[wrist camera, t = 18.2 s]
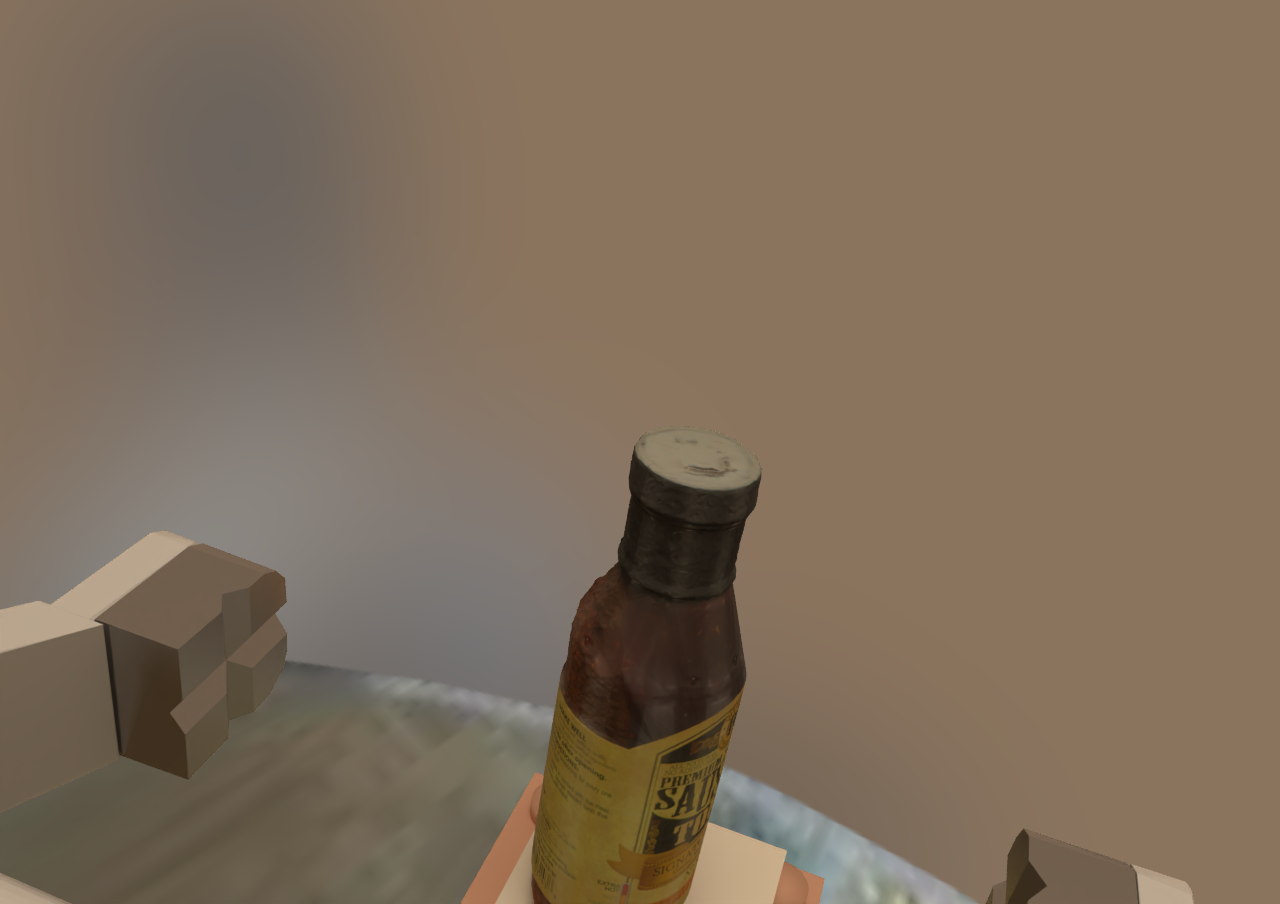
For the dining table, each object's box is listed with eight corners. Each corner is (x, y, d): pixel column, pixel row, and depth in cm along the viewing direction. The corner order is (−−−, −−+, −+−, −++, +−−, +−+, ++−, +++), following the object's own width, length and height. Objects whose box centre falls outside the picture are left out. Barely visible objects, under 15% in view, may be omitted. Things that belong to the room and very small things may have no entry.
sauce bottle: (644, 997, 39) (755, 549, 30) (495, 918, 41) (552, 471, 31) (710, 867, 45) (823, 451, 35) (575, 802, 47) (646, 389, 37)
